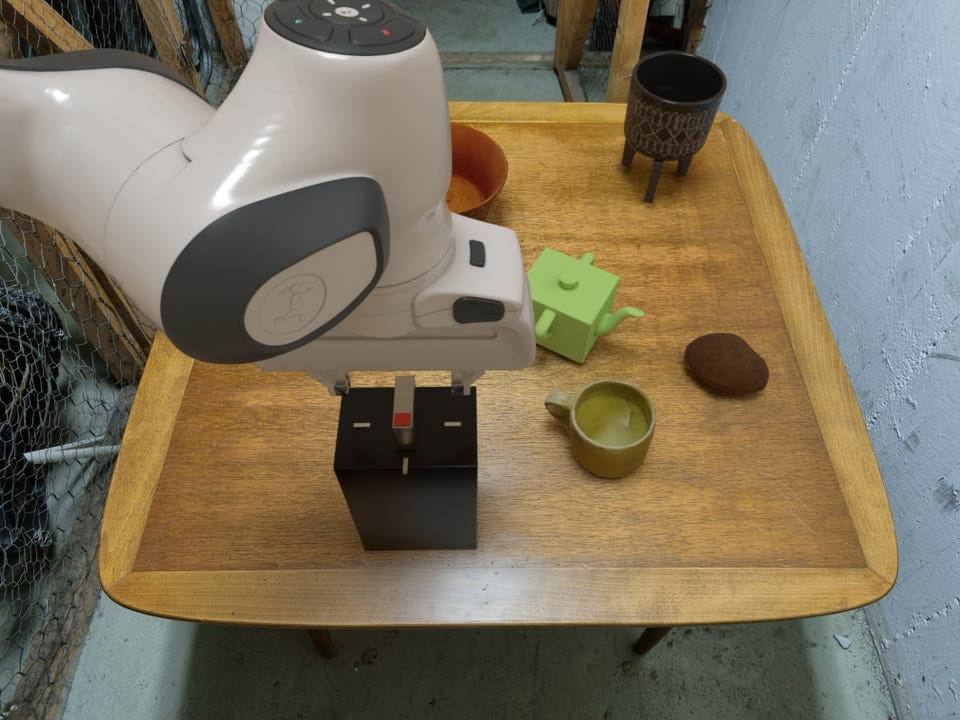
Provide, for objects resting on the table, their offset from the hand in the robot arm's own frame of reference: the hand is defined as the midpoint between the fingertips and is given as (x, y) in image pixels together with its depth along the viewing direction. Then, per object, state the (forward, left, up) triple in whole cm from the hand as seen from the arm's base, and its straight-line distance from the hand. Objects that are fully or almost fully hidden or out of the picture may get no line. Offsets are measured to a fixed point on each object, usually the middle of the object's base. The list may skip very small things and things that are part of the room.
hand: (401, 388), depth 53 cm
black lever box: (0, 0, -26) cm, 26 cm away
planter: (+65, +11, -26) cm, 71 cm away
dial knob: (0, 0, -6) cm, 6 cm away
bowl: (+36, +31, -26) cm, 54 cm away
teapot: (+31, +4, -26) cm, 41 cm away
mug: (+20, -9, -26) cm, 34 cm away
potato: (+38, -16, -26) cm, 49 cm away
